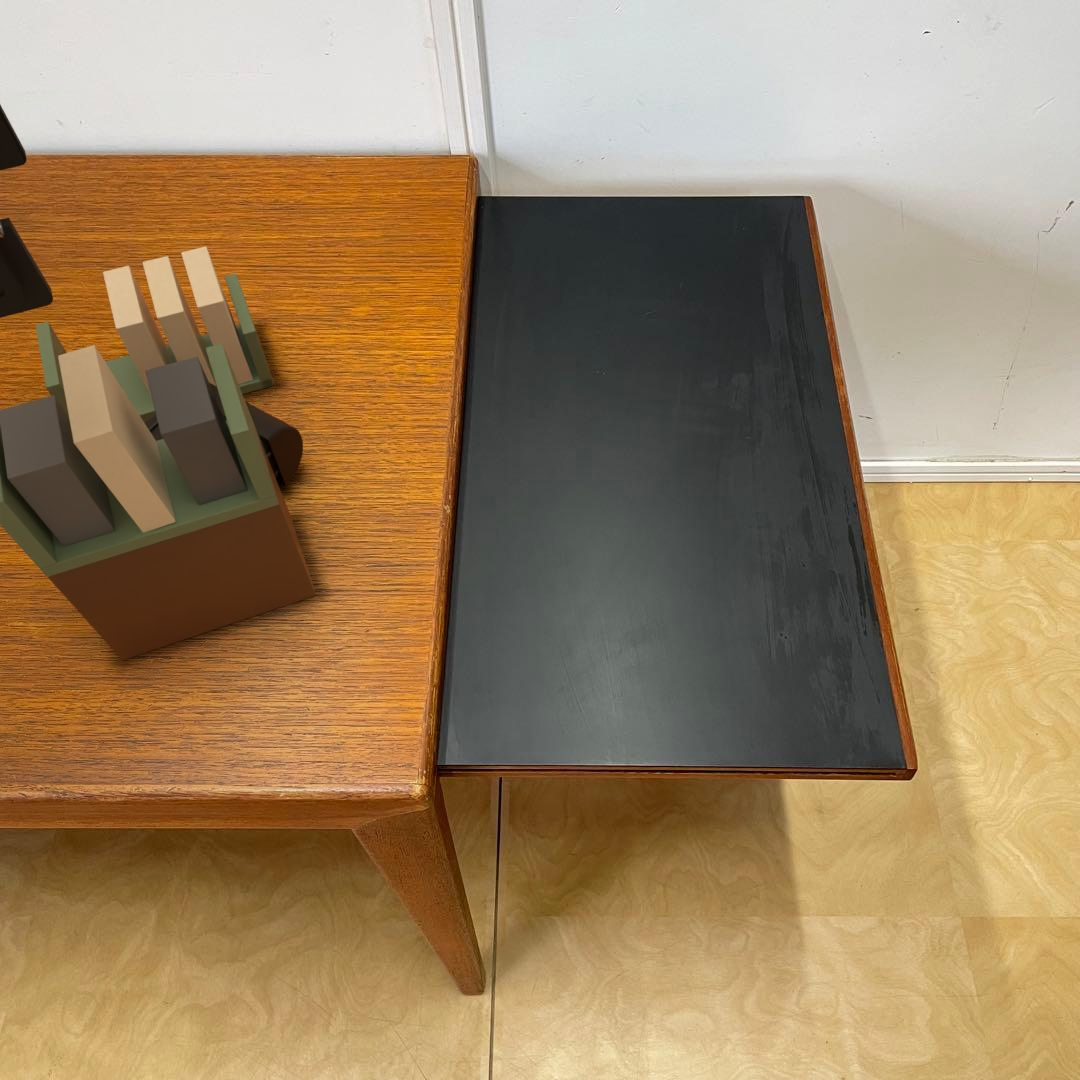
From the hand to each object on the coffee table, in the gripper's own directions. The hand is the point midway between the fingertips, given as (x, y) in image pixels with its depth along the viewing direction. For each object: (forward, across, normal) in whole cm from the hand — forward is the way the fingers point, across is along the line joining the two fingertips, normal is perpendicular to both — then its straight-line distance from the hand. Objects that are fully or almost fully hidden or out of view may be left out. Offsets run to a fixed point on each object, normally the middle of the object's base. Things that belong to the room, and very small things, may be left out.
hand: (3, 234), depth 40 cm
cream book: (+19, 0, 0) cm, 19 cm away
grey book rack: (+32, 0, 0) cm, 32 cm away
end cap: (+32, -10, +4) cm, 34 cm away
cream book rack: (+32, -21, +1) cm, 38 cm away
